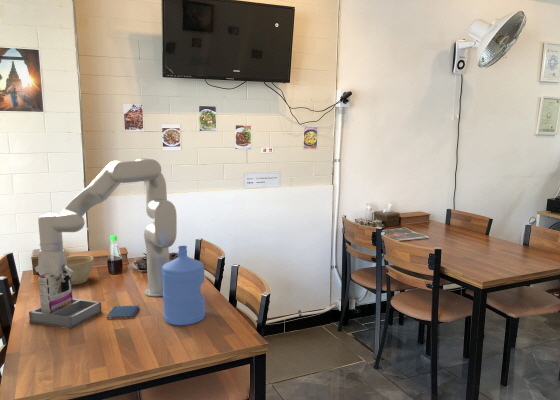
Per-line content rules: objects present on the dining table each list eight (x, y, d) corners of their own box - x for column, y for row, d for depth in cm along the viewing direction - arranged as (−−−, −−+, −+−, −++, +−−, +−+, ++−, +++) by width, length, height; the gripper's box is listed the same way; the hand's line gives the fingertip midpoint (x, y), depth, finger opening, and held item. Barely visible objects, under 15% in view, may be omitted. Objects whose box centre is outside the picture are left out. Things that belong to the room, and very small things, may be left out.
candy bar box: (63, 306, 172) (60, 267, 169) (73, 308, 170) (70, 268, 168) (40, 317, 161) (36, 275, 159) (50, 319, 160) (47, 277, 157)
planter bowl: (60, 278, 210) (59, 256, 208) (96, 275, 214) (95, 254, 213) (54, 289, 194) (52, 266, 193) (92, 285, 199) (91, 262, 198)
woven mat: (113, 310, 172) (113, 305, 171) (140, 309, 173) (140, 304, 172) (105, 321, 161) (104, 316, 161) (133, 320, 162) (133, 315, 162)
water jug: (179, 330, 152) (176, 254, 148) (155, 318, 163) (152, 246, 159) (213, 317, 164) (212, 246, 160) (189, 306, 174) (187, 239, 170)
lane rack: (101, 311, 169) (100, 302, 168) (70, 328, 154) (69, 318, 153) (63, 306, 175) (62, 296, 174) (29, 322, 160) (28, 311, 159)
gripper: (25, 247, 161) (29, 290, 163) (62, 250, 155) (65, 295, 158) (42, 242, 168) (45, 284, 170) (77, 245, 163) (80, 288, 165)
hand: (55, 289), depth 164 cm, fingers open, 9 cm apart
